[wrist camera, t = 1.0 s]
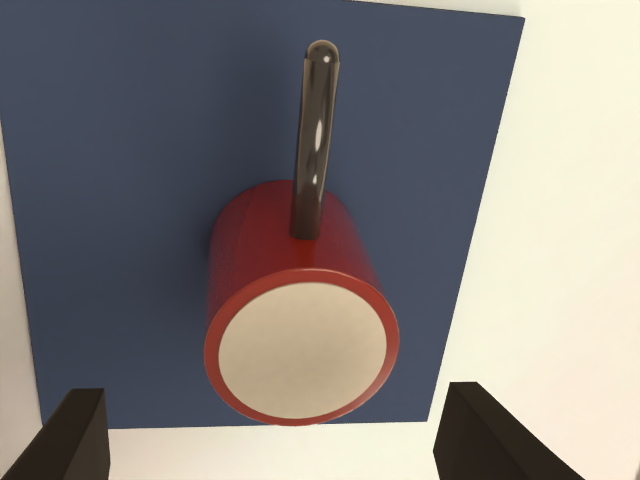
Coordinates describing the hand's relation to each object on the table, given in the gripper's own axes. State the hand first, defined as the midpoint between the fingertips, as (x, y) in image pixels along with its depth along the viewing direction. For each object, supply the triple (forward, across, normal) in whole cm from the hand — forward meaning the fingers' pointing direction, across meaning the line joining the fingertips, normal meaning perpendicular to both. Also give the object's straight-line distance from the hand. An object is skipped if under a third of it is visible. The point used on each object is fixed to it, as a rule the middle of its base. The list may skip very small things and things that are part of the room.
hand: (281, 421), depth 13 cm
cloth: (+10, 0, +1) cm, 10 cm away
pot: (+10, -1, -2) cm, 10 cm away
